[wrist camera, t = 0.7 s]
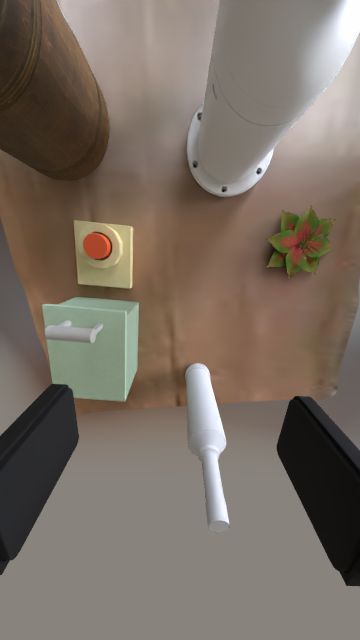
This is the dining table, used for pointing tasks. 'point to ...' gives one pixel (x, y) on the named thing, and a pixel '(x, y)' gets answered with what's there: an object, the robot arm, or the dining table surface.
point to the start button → (96, 246)
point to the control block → (110, 268)
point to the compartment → (132, 327)
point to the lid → (87, 350)
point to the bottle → (206, 442)
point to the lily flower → (300, 242)
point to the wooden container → (48, 93)
